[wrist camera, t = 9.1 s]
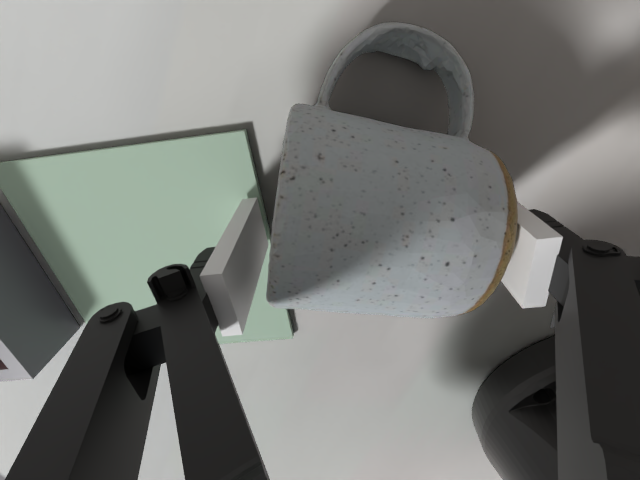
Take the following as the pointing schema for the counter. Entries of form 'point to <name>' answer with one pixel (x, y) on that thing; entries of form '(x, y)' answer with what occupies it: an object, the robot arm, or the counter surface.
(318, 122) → the ceramic mug
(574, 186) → the counter surface
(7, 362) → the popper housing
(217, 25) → the counter surface
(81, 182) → the sage square
